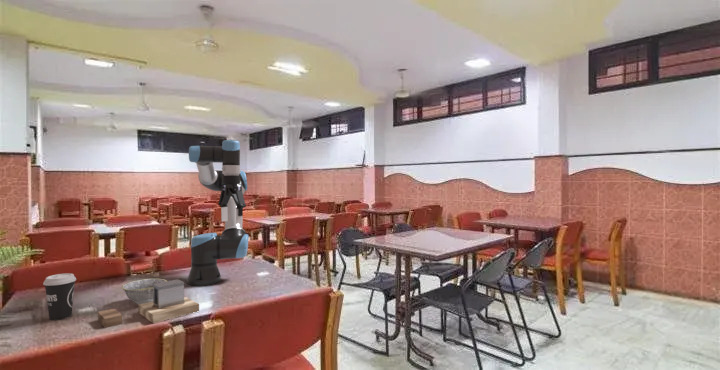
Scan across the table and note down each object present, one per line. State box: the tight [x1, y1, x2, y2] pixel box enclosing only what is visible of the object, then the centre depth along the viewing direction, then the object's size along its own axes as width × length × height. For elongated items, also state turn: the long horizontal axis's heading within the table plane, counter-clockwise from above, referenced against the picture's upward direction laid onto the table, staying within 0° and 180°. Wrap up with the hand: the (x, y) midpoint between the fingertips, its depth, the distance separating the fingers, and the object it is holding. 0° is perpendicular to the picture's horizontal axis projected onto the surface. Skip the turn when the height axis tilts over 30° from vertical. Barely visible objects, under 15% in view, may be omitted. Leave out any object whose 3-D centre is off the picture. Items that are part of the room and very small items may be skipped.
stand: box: [97, 308, 123, 328], centre depth 134 cm, size 10×5×3 cm, turn 46°
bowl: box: [121, 278, 168, 305], centre depth 156 cm, size 16×16×8 cm
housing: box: [153, 279, 185, 309], centre depth 144 cm, size 9×6×8 cm, turn 136°
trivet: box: [137, 295, 200, 324], centre depth 144 cm, size 16×16×3 cm
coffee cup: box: [42, 273, 77, 321], centre depth 139 cm, size 10×10×15 cm
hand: (231, 222), depth 170 cm, fingers open, 13 cm apart
